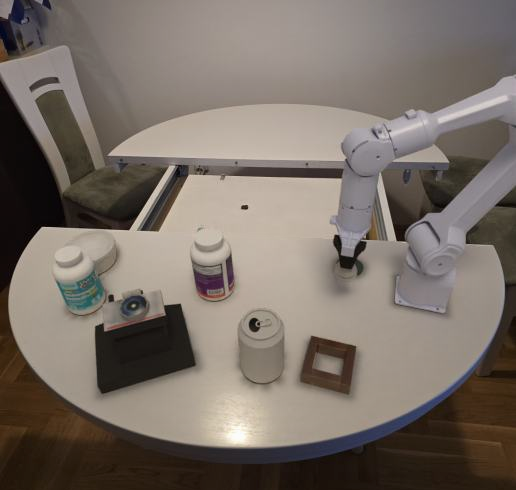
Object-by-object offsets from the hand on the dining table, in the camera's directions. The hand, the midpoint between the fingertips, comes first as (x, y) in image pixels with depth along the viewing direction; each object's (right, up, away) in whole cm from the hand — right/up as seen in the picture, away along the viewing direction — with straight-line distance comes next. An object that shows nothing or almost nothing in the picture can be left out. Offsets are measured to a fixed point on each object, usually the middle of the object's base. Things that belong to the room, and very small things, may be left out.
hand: (347, 260), depth 76 cm
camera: (-38, -16, -1) cm, 41 cm away
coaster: (+3, -2, +14) cm, 14 cm away
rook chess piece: (0, -3, +2) cm, 4 cm away
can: (-16, -18, -5) cm, 25 cm away
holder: (-5, -18, -6) cm, 20 cm away
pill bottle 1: (-52, -9, +8) cm, 53 cm away
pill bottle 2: (-26, -7, +10) cm, 28 cm away
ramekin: (-54, -2, +17) cm, 57 cm away
